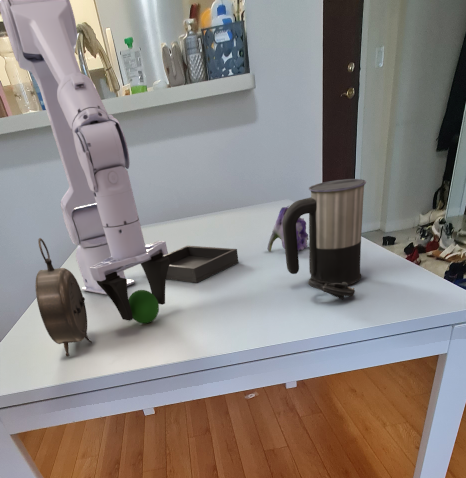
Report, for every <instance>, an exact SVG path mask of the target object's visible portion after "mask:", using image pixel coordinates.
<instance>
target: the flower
mask: <svg viewBox="0 0 466 478" xmlns="http://www.w3.org/2000/svg"><path fill="white" fill-rule="evenodd" d="M289 207H290V205H287V206H283V207H281V208H280V210H279V212H278V216H277V218H276V220H275V223H274V226H273V229H272V232H271V235H270V237H269V240H268V243H267V250H268V252H269V253H271V252H272V248H273V245H274V242H275V241H276V239H279V240H280V241H281V246H282V248H283V249H284V250H285V245H284V236H283V217H284V214H285V212H286V211H287V209H288V208H289ZM296 234H297V246H298V252H299V251H300V250H301V251H303V250H304V249H307V248H308V241H309V233H308V232H307V222H306V220H305V218H304V217H301V216H300V217H299V219H298V220H297V223H296Z"/></svg>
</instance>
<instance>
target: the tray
mask: <svg viewBox="0 0 466 478" xmlns="http://www.w3.org/2000/svg"><path fill="white" fill-rule="evenodd" d="M238 254H239V253H238V249H237V248H229V247H228V248H227V247H216V246H215V247H214V246H200V245H199V246H197V245H185V246H183V247H180V248H178V249H176V250H174V251H171V252H168V254H166V255H163V257H168V258H169V262H170V264H169V267H168V271H167V276H166V280H171V281H178V282H186V283H193V284H198V283H201V282H202V281H204V280H206V279H208V278H210V277H212V276H214V275H216V274H219V273H221V272H223V271H225V270H226V269H227V270H228V269H229V268H231V267H233V266H235V265H237V264H239V255H238Z"/></svg>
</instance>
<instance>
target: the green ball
mask: <svg viewBox="0 0 466 478" xmlns="http://www.w3.org/2000/svg"><path fill="white" fill-rule="evenodd" d="M128 300H129V304H130V307H131V311H132V316H133V320H134V321H135V322H137V323H139V324H149V323H150V324H151V323H152V322H153V321H154V320H156V318H157V316H158V315H159V311H160V304H158V301H157V299H156V297H155V296H154V295H153V294H152V292H151V291H150V290H146V289H138V290H135V291H134V292H132V293H131V294H130V295H129V296H128Z"/></svg>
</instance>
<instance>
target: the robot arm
mask: <svg viewBox="0 0 466 478" xmlns="http://www.w3.org/2000/svg"><path fill="white" fill-rule="evenodd" d="M0 16H1V19H2V22H3V25H4V28H5V31H6V34H7V37H8V40H9V43H10V47H11V50H12V52H13V55H14V58H15V61H16V62H17V63H18V67H19V68H20V69H23V70H25V71H27V72H30V73H31V74H32V77H33V78H34V80H35V82H36V84H37V86H38V88H39V91H40V95H41V98H42V101H43V105H44V108H45V111H46V114H47V117H48V121H49V124H50V127H51V131H52V135H53V138H54V140H55V143H56V144H55V145H56V147H57V150H58V154H59V157H60V161H61V164H62V166H63V170H64V173H65V176H66V179H67V184H68V188H67V190H66V192H65V193H64V195H63V196H62V198H61V200H60V209H61V212H62V217H63V222H64V224H65V227H66V230H67V233H68V236H69V238H70V240H71V242H72V243H73V245H75V246H77V248H76V251H75V258H76V259H75V260H76V263H77V266H78V269H79V272H80V274H81V277H82V280H83V283H84V286H83V287H82V291H85V292H90V293H96V294H101V295H107V296H108V297H109V299H110V300H111V302H112V303H113V305H114V306H115V308H116V310H117V311H118V313H119V315H120V317H121V318H122V320H124V321H128V322H129V321H133V320H134V319H133V316H132V311H131V307H130V304H129V300H128V299H129V293H128V286H131V285H133V284H135V283H136V281H135V280H134V279H128V278H126V274H125V271H126V270H129V269H131V268H134V267H136V266H138V265H140V267H142V270H143V272H144V274H145V276H146V279H147V281H148V285H149V288H150V292H151V293H152V294H153V295H154V296H155V297H156V299H157V301H158V304H159V305H161V306H162V305H165V304H166V283H167V282H166V281H167V279H166V276H167V271H168V267H169V264H170V262H169V258H168V257H163V256H164V255H166V254H168V253H169V252H168V246H167V242H166V241H165V240H156V241H154V242H150V243H147V244H146V242H145V238H144V235H143V230H142V225H141V222H140V217H139V213H138V209H137V205H136V201H135V197H134V191H133V189H132V183H131V179H130V176H129V171H128V169H129V168H130V165H131V164H130V163H131V161H130V154H129V153H130V152H129V148H128V144H127V141H126V136H125V133H124V130H123V127H122V126H121V123H120V122H119V120H118V119H117V118H115V117H114V116H113V114H112V113H110V114H109V113H108V112H107V109H106V106H105V105H104V103H103V100H102V97H101V96H100V94H99V92H98V90H97V88H96V85H95V84H94V81H93V80H92V79H91V78H90V77H89V76H88V75H86V74H84V73H82V71H81V69H80V66H79V64H78V60H77V57H76V54H75V53H76V47H77V42H78V30H77V29H78V28H77V24H76V18H75V13H74V10H73V7H72V3H71V0H0Z"/></svg>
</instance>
